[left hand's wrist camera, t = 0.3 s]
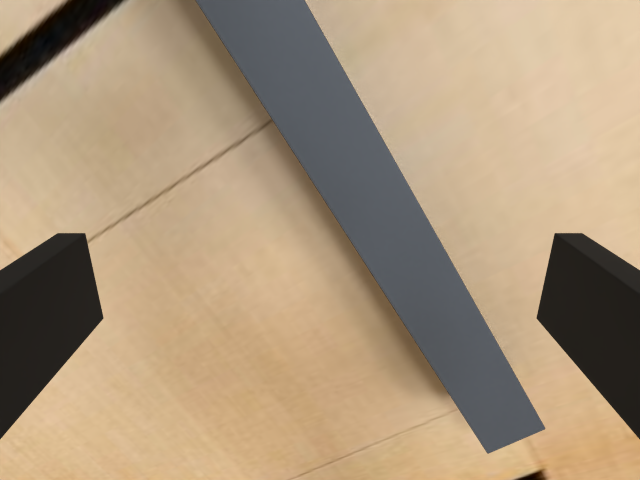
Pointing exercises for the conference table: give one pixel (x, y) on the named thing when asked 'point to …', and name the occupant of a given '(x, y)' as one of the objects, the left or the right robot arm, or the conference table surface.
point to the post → (374, 206)
